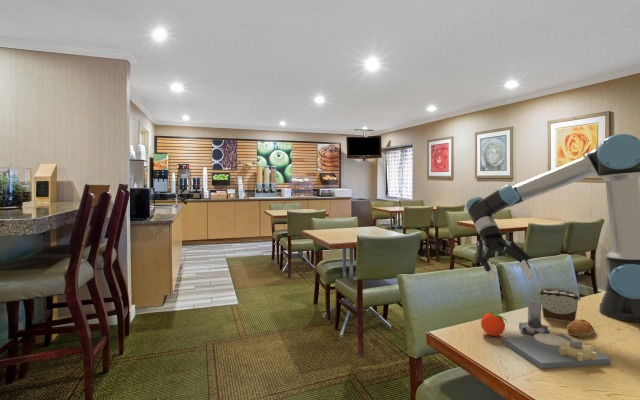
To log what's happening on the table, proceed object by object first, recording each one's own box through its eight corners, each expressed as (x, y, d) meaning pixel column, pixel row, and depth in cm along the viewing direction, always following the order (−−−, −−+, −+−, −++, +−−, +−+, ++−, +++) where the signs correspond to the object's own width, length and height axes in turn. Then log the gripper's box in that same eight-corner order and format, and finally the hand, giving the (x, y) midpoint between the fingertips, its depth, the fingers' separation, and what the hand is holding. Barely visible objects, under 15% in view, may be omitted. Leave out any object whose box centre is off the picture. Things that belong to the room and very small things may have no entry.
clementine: (511, 335, 113) (511, 313, 113) (504, 342, 108) (505, 319, 108) (485, 329, 119) (485, 307, 119) (477, 335, 114) (477, 313, 113)
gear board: (560, 337, 111) (561, 322, 111) (612, 365, 94) (613, 346, 94) (501, 341, 109) (501, 325, 109) (543, 370, 92) (543, 350, 92)
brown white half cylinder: (578, 318, 128) (579, 290, 128) (580, 323, 123) (580, 294, 123) (538, 312, 135) (539, 285, 135) (538, 317, 130) (538, 289, 129)
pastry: (587, 341, 109) (587, 328, 109) (561, 334, 115) (561, 322, 115) (595, 333, 116) (595, 321, 115) (570, 327, 121) (570, 316, 121)
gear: (537, 326, 121) (538, 297, 120) (556, 336, 112) (557, 305, 112) (513, 328, 120) (513, 298, 119) (530, 338, 111) (530, 306, 111)
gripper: (513, 236, 145) (539, 282, 130) (455, 236, 142) (475, 284, 127) (522, 224, 139) (550, 271, 125) (462, 225, 136) (484, 273, 122)
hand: (512, 278), depth 126 cm, fingers open, 13 cm apart
